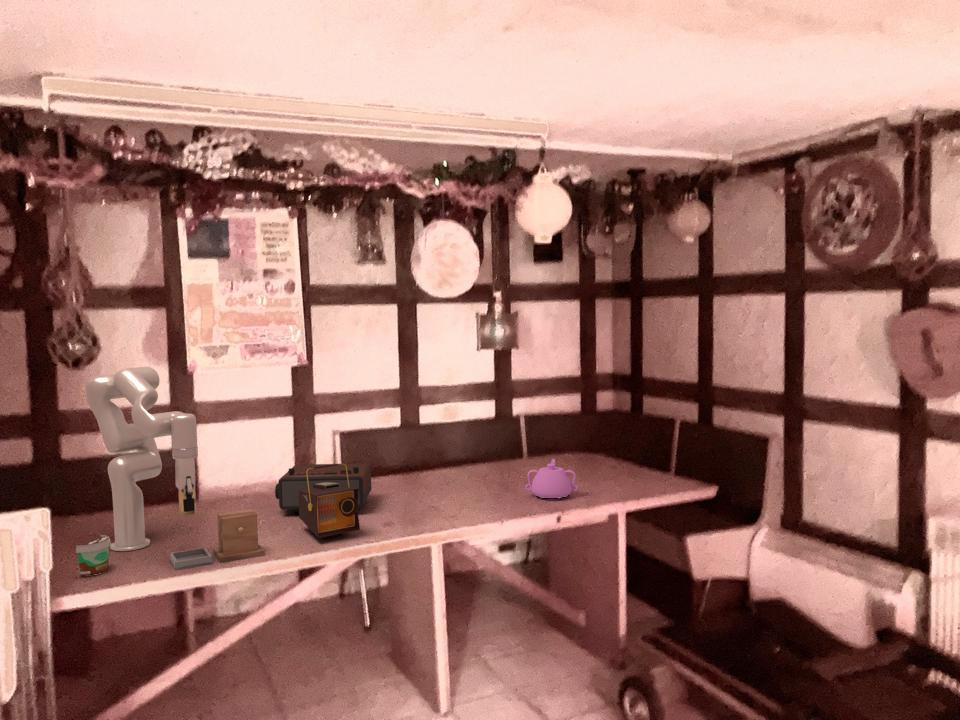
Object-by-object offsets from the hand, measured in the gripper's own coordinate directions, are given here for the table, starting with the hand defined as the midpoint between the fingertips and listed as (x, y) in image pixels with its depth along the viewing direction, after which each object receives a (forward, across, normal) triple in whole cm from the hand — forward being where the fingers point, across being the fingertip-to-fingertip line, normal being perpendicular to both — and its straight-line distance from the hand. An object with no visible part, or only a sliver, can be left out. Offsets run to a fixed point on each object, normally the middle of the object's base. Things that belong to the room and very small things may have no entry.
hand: (187, 508), depth 247 cm
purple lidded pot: (+18, -9, +146) cm, 148 cm away
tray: (+17, 0, 0) cm, 17 cm away
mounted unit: (+17, 0, +15) cm, 23 cm away
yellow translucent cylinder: (+2, 0, 0) cm, 2 cm away
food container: (+18, -6, -26) cm, 32 cm away
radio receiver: (+18, -43, +58) cm, 75 cm away
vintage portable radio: (+18, -6, +47) cm, 51 cm away
